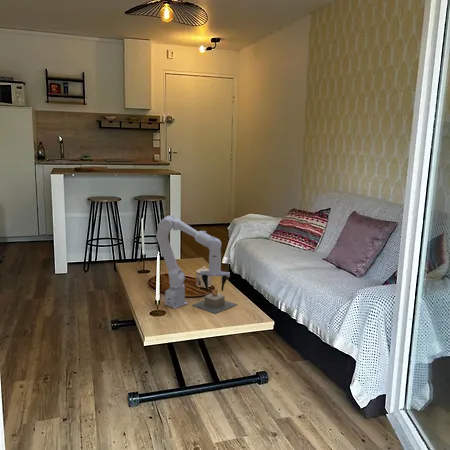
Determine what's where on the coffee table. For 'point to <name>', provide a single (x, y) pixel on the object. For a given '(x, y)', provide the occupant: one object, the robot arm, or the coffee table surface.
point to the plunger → (214, 292)
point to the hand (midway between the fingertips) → (214, 290)
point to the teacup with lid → (199, 278)
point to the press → (214, 303)
